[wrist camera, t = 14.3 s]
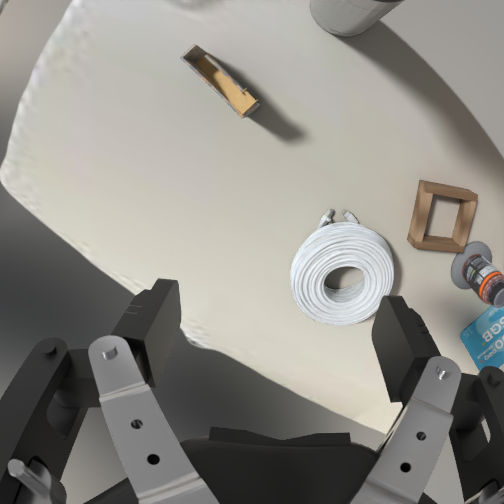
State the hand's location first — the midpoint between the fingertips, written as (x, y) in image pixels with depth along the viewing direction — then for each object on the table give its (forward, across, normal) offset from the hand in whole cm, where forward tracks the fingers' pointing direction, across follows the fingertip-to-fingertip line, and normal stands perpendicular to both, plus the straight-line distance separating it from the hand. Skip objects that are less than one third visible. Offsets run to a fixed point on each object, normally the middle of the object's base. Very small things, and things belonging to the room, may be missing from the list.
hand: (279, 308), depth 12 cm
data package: (+36, -49, +29) cm, 68 cm away
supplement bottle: (+36, -39, +15) cm, 55 cm away
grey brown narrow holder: (+37, +8, -11) cm, 39 cm away
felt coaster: (+36, -39, +15) cm, 55 cm away
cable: (+37, -12, +18) cm, 42 cm away
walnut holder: (+36, -28, +6) cm, 46 cm away
